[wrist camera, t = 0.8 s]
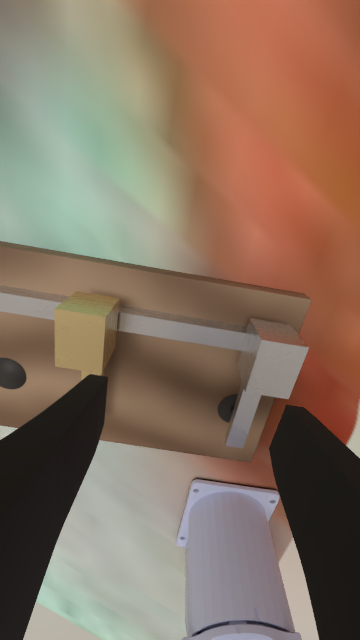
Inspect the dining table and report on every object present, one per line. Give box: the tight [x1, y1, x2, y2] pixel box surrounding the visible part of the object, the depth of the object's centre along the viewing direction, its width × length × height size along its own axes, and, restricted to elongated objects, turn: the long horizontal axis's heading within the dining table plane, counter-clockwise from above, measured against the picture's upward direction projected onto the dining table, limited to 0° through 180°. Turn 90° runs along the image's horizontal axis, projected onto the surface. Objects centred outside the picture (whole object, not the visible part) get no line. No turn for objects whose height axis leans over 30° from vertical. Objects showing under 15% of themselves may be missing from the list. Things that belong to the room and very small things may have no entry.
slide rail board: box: [0, 241, 311, 462], centre depth 20 cm, size 14×22×1 cm, turn 80°
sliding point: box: [54, 291, 119, 380], centre depth 17 cm, size 9×2×4 cm, turn 170°
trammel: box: [0, 285, 309, 448], centre depth 17 cm, size 9×21×4 cm, turn 80°
